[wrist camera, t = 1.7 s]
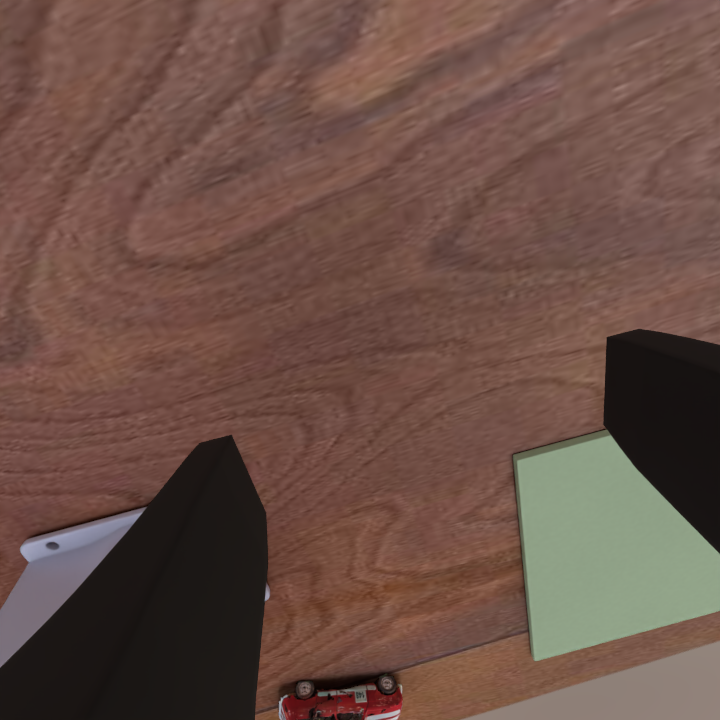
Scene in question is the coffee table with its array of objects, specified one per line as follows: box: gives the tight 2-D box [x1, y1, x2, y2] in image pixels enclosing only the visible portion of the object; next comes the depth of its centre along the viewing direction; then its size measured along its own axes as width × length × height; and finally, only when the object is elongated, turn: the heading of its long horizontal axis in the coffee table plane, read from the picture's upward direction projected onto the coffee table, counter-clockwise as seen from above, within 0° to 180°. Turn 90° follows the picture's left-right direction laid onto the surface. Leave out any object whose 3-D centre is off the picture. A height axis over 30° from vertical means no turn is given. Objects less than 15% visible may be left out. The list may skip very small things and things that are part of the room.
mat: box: [513, 429, 720, 661], centre depth 27 cm, size 18×18×1 cm
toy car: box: [279, 674, 403, 720], centre depth 29 cm, size 4×8×3 cm, turn 84°
